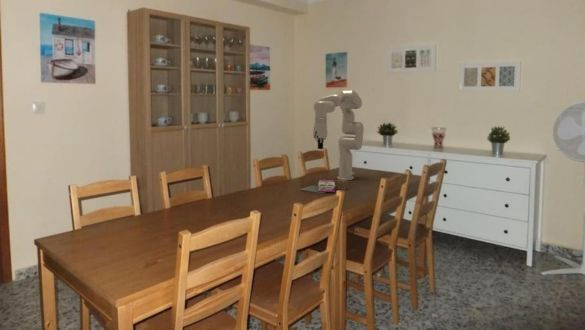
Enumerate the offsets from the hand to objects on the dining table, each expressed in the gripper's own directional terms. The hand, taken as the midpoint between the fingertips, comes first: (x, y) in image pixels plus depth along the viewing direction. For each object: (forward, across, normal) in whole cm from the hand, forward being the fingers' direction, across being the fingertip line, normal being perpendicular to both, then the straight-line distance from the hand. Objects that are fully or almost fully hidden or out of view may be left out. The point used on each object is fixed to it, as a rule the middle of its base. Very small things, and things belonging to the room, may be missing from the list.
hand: (320, 148), depth 288 cm
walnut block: (+27, -10, +11) cm, 31 cm away
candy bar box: (+24, -7, +1) cm, 25 cm away
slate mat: (+27, +3, 0) cm, 27 cm away
